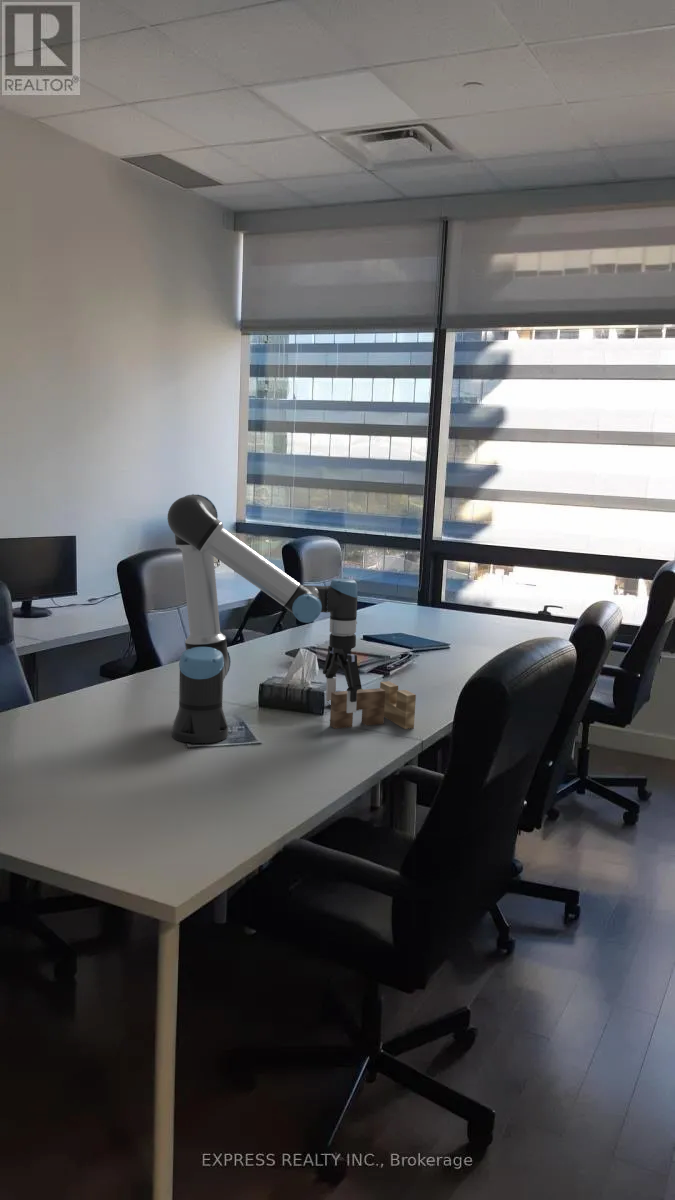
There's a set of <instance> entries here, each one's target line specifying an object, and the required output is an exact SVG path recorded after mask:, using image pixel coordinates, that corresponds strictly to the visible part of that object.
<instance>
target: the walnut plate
mask: <svg viewBox="0 0 675 1200" xmlns="http://www.w3.org/2000/svg"><path fill="white" fill-rule="evenodd" d="M384 706H385V690H383V689H381V688H380V687H379V688H367V689H363V690H357V705H356V711H360V710H361V720H360V721H361V723H362V724H363V725H365V726H375V725H384V723H385V722H384V721H385V717H384ZM346 711H347V690H342V691H341V690H340V691H336V692H331V705H330V716H329V717H330V718H329V727H331V728H333V729H334V730H337V729H344V728H347V729H348V728H353V724H354V723H353V719H354V712H353V713H347V712H346Z"/></svg>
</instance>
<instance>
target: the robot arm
mask: <svg viewBox="0 0 675 1200" xmlns="http://www.w3.org/2000/svg"><path fill="white" fill-rule="evenodd" d="M218 518H219V515H218V510H217V508H216V506H215V504H214V503H213V501H212V500H210V499H209V498H208V497H207V496H204V495H202V494H194V493H192V494H188V495H185V496H183V497H180V498H178V499H176V500H175V501H174V502H173V503H172V504H171V506H170V507H169V509H168V511H167V523H168V527H169V529H170V530H171V531H172V533H173V534H174V539H175V541H174V542H175V546H176V547H177V548H178V549H179V550H180V551H181V555H182V565H183V566H182V567H183V576H184V586H185V587H184V588H185V599H186V608H187V618H188V628H189V635H188V637H187V638H186V639H185V640H184V643H185V650H184V651H183V652H182V653H181V655H180V657H179V663H178V667H179V668H178V669H179V689H178V690H179V691H178V693H179V694H178V695H179V697H178V699H179V700H178V710H177V712H176V715H175V717H174V718H175V719H174V721H173V724H172V728H171V737H172V738H173V739H174V740H177V741H179V742H182V743H186V742H191V743H190V744H195V743H202V744H203V743H205V744H213V743H217V742H221V740H222V741H223V740H225V738H226V737H227V736H229V727H228V723H227V719H226V716H225V713H224V709H223V698H224V697H223V694H224V693H223V691H224V680H225V678H226V677H227V675H228V673H229V671H230V670H231V662H232V661H231V655H230V652H229V650H228V643H227V636H226V635H225V634H223V633H222V632H221V625H220V624H221V623H220V612H219V602H218V591H217V582H216V580H217V579H216V568H215V560H214V559H217V560H218V561H220V562H221V563H223V564H224V565H226V566H227V567H228V568H229V569H231V570H232V571H234V572H235V573H236V574H238V575H239V576H240V577H243V578H244V579H245V580H246V581H247V582H249V583H250V584H251V585H253V586H254V587H256V588H257V589H259V590H260V591H261V592H263V593H265V594H266V595H267V596H269V597H270V598H272V599H273V600H275V601H276V602H277V603H278V604H280V605H281V606H283V607H284V608H285V609H286V610H288V611H289V612H291V613H292V614H293V616H294V617H295V619H297V620H298V621H299V622H301V623H305V624H306V623H309V624H310V623H312V622H314V621H315V620H317V619H318V618H319V616H320V615H321V613H329V615H330V616H329V633H330V634H329V641H328V642H329V645H328V647H327V656H326V659H325V662H324V664H323V666H324V667H323V668H322V669H323V670H322V674H323V675H324V676H325V678H326V681H325V682H326V683H325V685H326V688H325V689H326V690H325V701H326V702H327V701H329V700H331V692H337V691H336V690H337V688H336V687H337V673H338V670H339V668H340V669H341V670H342V671H343V674H344V676H345V680H346V684H347V687H348V688H347V689H346V691H347V711H346V712H347V713H353V714H354V713H357V710H356V705H357V690H359V689H361V688H362V689H363V687H362V683H361V682H362V681H361V678H360V677H361V676H360V671H359V666H358V655H357V653H356V654H353V653H352V649H355V648H356V645H357V636H356V633H357V625H358V621H357V615H358V614H357V613H358V583H357V581H356V580H355V579H351V578H343V577H342V578H333V579H332V580H331V581H330V585H307V584H306V585H303V584H301V583H300V582H298V581H297V580H295V578H293V577H291V576H290V575H289V574H287V573H286V572H285V571H283V570H282V569H280V568H279V567H277V566H276V565H275V564H274V563H272V562H271V561H269V560H268V559H267V558H265V557H264V556H262V555H261V554H260V553H258V552H257V551H255V550H254V549H253V548H251V547H250V546H248V544H246V543H245V542H243V541H242V540H240V539H239V538H238V537H236V536H235V535H234V534H232V533H231V532H230V531H228V530H227V529H226V528H224V525H223V522H222V521H221V520H219V519H218ZM227 738H228V737H227ZM227 738H226V739H227ZM202 744H201V745H202ZM203 745H204V744H203Z"/></svg>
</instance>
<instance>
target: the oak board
mask: <svg viewBox="0 0 675 1200" xmlns="http://www.w3.org/2000/svg"><path fill="white" fill-rule="evenodd" d="M379 685H380V686H379V688H381V689H383V690H385V706H384V719H387V720H389V721H390V722H392V723H393V724H395V725H397V726H398V727H401V728H402V729H404V730H410V728H411V729H414V728H415V718H416V717H415V714H416V702H417V701H416V699H417V695H416V694H415V693H413V692H411V691H409V690H407V689H400V690H399V685H397V684H395V683H393V682H392V681H389V680H388V681H380V684H379ZM408 728H409V729H408Z"/></svg>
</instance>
